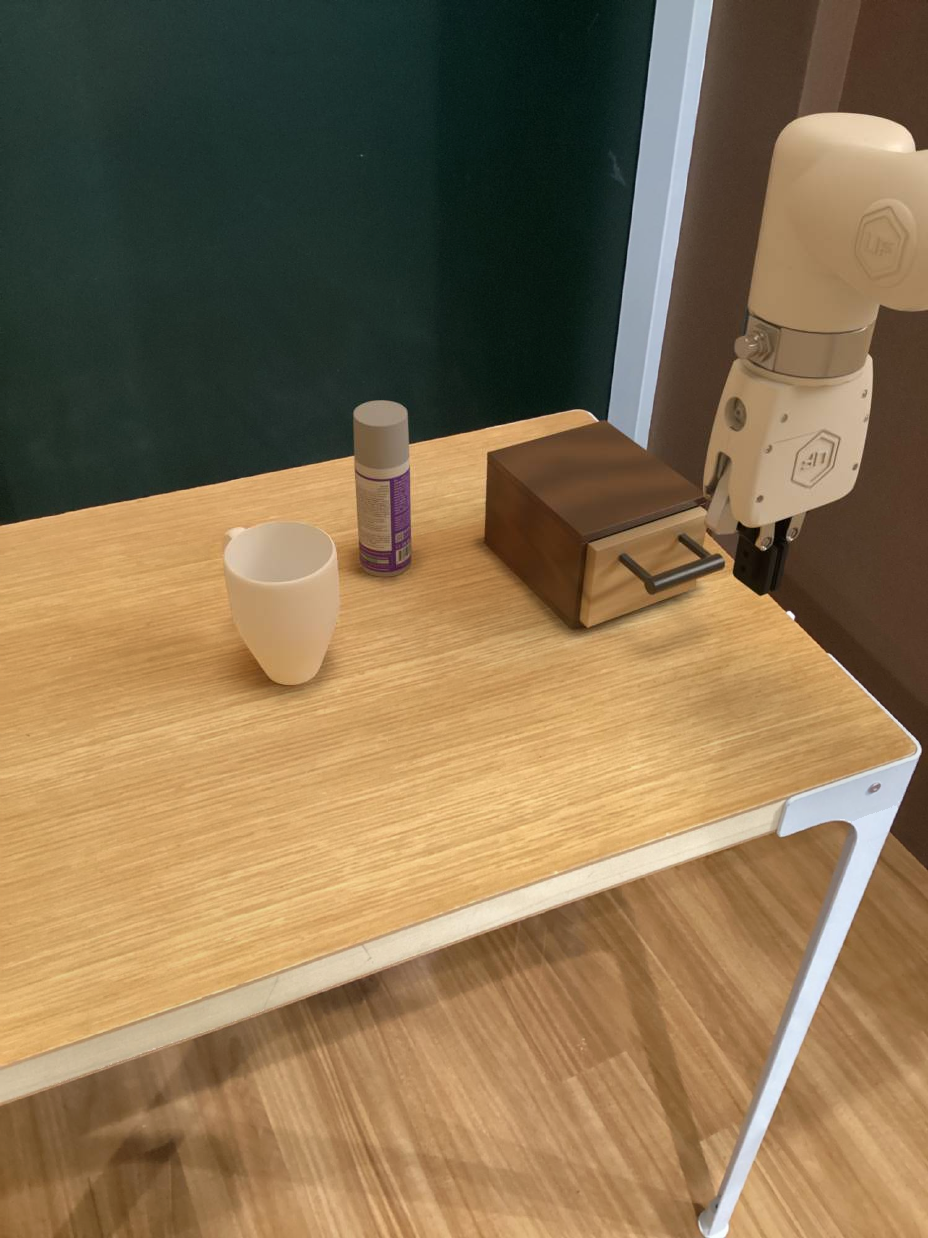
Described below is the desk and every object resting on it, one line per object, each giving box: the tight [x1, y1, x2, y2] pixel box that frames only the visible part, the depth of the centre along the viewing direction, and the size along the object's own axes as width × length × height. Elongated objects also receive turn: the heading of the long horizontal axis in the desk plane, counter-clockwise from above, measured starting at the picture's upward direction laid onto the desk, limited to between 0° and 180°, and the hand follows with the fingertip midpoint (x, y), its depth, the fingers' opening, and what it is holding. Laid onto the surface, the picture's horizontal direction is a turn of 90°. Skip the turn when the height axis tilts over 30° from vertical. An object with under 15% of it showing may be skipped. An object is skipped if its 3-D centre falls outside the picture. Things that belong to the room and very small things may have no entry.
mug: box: [221, 520, 341, 686], centre depth 83 cm, size 12×8×11 cm
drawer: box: [579, 506, 726, 629], centre depth 91 cm, size 18×11×8 cm, turn 30°
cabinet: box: [483, 419, 707, 631], centre depth 94 cm, size 15×13×10 cm
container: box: [352, 399, 412, 578], centre depth 92 cm, size 5×5×15 cm
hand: (755, 582), depth 76 cm, fingers closed
